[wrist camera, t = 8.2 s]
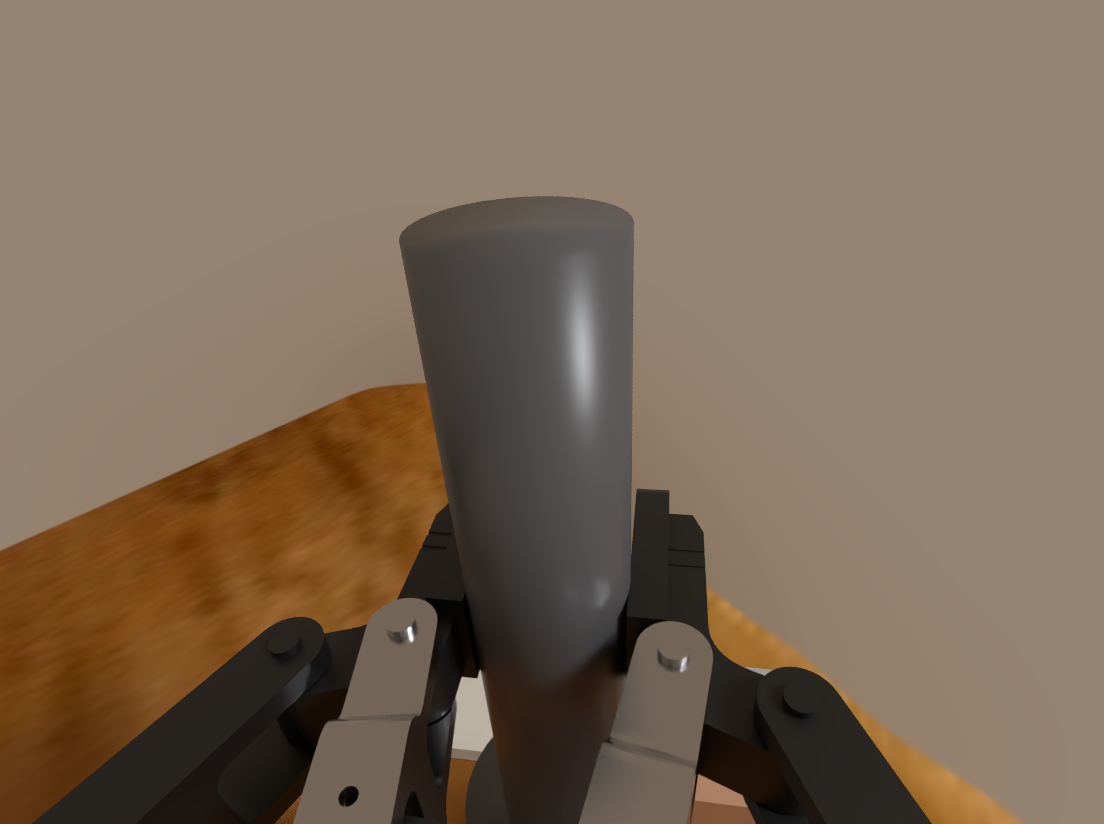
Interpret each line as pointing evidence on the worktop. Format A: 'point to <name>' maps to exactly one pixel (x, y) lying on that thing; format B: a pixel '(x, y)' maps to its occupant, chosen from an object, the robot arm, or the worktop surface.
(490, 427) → the grey pestle
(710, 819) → the tile
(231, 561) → the worktop surface
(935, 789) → the worktop surface
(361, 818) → the robot arm
